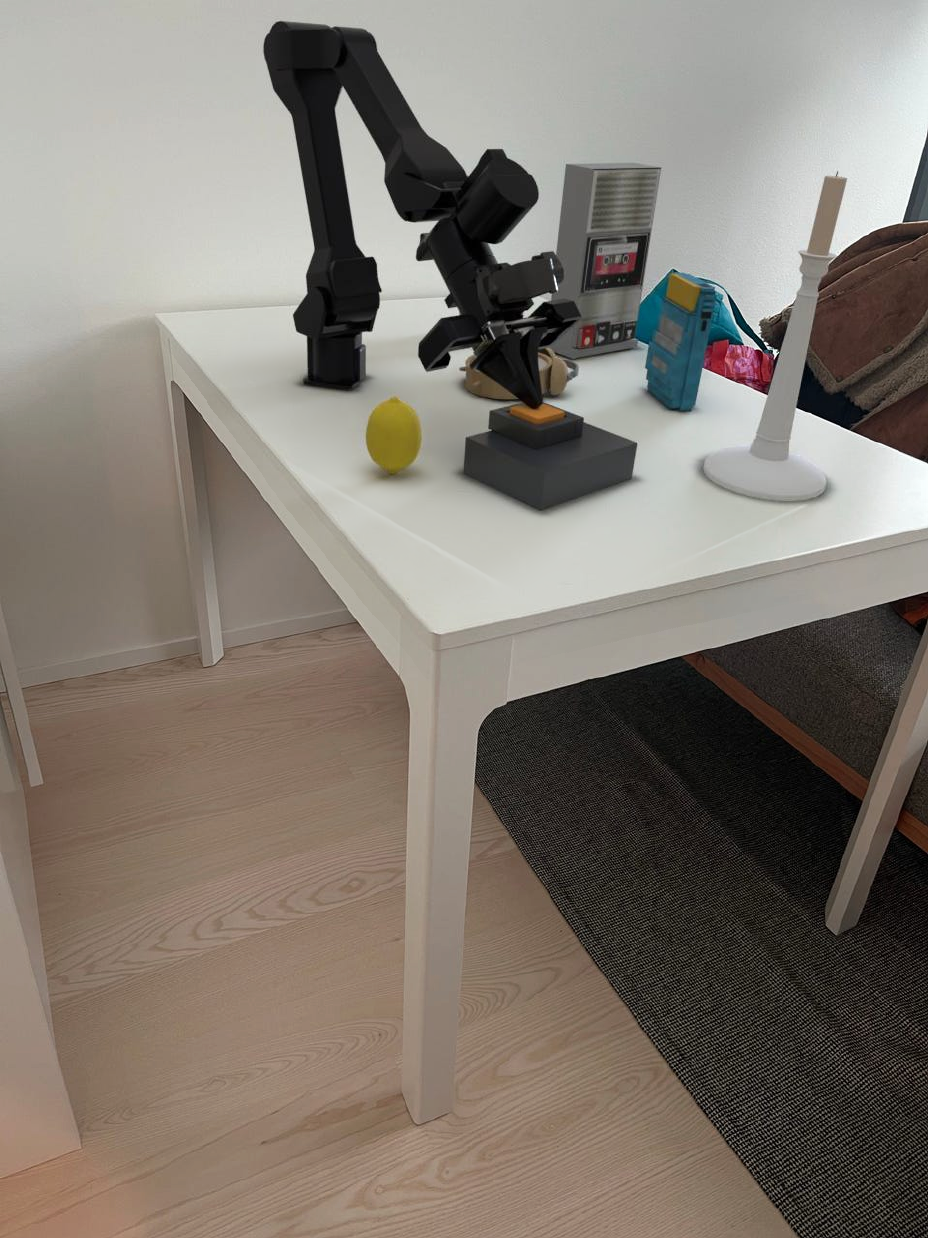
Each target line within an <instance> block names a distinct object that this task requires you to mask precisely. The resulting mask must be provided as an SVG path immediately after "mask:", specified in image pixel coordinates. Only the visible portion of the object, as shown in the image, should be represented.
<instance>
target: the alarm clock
mask: <svg viewBox="0 0 928 1238" xmlns="http://www.w3.org/2000/svg"><path fill="white" fill-rule="evenodd" d="M475 359H476V358H475V356H474V354H471V355H470V356H468V357H467V358H466V360H465V362H464V363H465V366H460V367H459V371H461V372H465V387H466V389H467V390H468V391H469V392H470V393H472V394H474V395H476V396H480V397H484V398H489V399H495V400H497V399H498V400H519V399H518V398H517V397H515V396H514V395H513V394H512V393H510V392H509V391H508V390H506V389H505V388H504V387H502V386H501V385H499V384H498V383H496V382H495V381H493V380H492V379H490V378H489V377H487V376H486V375H484V374H483V373H481V372H480V371H478V370H471V368H470V367H469V365H470V364H471V363H472V362H473V361H474V360H475ZM538 364H539V373H540V381H541V389H542V395H544V394H545V393H547V392H548V391H550V396H558V395H560V394H561V393H562V394H563V392H564V391H565V390H566V387H567V386H568V383H569V382H570V381H573V379H575V378H576V377H578V376H579V370H580V369H579V368H580V367H579V364H578V363H577V362H575V361H573V360H572V359H567V358H566V359H565V358H560V357H557V355H556V354H555V352H554V351H552V350H551V349H550V348H549V347H548V348H543V349H538ZM569 369H571V371H569Z"/></svg>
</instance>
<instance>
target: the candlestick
mask: <svg viewBox="0 0 928 1238" xmlns="http://www.w3.org/2000/svg"><path fill="white" fill-rule="evenodd" d="M847 181H848V178H847V177H844V176H839V171H838V170H837V171H836V174H835V175H825V176H824V178H823V182H822V187H821V191H820V196H819V199H818V203H817V208H816V213H815V216H814V220H813V225H812V229H811V233H810V236H809V241H808V245H807V249H800V250H798V251H797V253H798V254H799V256H800V257H801V263H800V265H799V267H798V268H799V272H800V274H801V285H800V288H798V290H797V291H796V292H795V293H796V296H795V299H794V303H793V307H792V309H791V314H790V317H789V321H788V323H787V328H786V331H785V334H784V338H783V341H782V345H781V347H780V351H779V355H778V359H777V362H776V365H775V368H774V372H773V376H772V380H771V383H770V386H769V389H768V393H767V397H766V400H765V403H764V407H763V410H762V413H761V417H760V420H759V423H758V427H757V431H755V438H754V439H753V442H752V444H739V445H732V446H727V447H724V448H721V449H719V450H716V451H714V452H713V453H710V454H709V455H708V456H706V458H705V460H704V463H703V466H702V467H703V468H702V469H703V470H702V471H703V473H704V475H705V476H706V477H707V478H708V479H709V480H711V482H713V483H715V484H716V485H718V486H720V487H722V488H724V489H726V490H729V491H731V492H734V493H737V494H739V495H743V496H747V497H751V498H755V499H761V500H767V501H768V500H769V501H775V502H800V501H806V500H807V501H808V500H811V499H814V498H817V497H819V496H821V495H822V494H823V493H824V492H825V489H826V487H827V479H826V476H825V475H824V474H823V472H822V471H821V469H819V468H818V467H817V466H816V465H815V464H814V463H813V462H812V461H810V460H808V459H806V458H805V457H803V456H801V455H799V454H796V453H794V452H793V451H790V440H791V437H792V436H791V435H792V432H793V431H792V430H793V425H794V421H795V414H796V409H797V404H798V401H799V398H798V397H799V396H800V395H799V394H800V389H801V383H802V379H803V374H804V369H805V364H806V358H807V354H808V349H809V344H810V338H811V333H812V327H813V323H814V318H815V313H816V308H817V303H818V299H819V297H820V293H819V285H820V283H821V282H822V278H823V277H824V276H826V275H828V272H829V265H830V263H831V262H832V261H833V260H834V259H836V258H837V257H838V255H837V254H836V253H832V252H830V250H831V246H832V242H833V238H834V233H835V231H836V230H835V229H836V226H837V222H838V217H839V213H840V210H841V205H842V202H843V197H844V193H845V189H846V186H847Z"/></svg>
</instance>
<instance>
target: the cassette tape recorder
mask: <svg viewBox="0 0 928 1238" xmlns="http://www.w3.org/2000/svg"><path fill="white" fill-rule="evenodd" d="M661 173H662V167H660V166H654V165H649V164H643V163H637V162H605V163H602V162H601V163H600V162H599V163H597V162H595V163H565V169H564V176H563V177H564V178H563V187H562V195H561V196H562V197H561V206H560V216H559V224H558V233H557V234H558V235H557V243H556V251H555V255H556V256H557V258H558V259H559V261H560V262H561V264H562V267H563V268H564V279H563V281H562V282H561V283H559V284H557V289H558V291H557V292H555V293H552V294H551V297H550V301H552V300H558V299H569V300H572V301H574V302H575V304H576V306H577V308H578V310H579V312H580V314H581V316H582V319H581V320H580V321H579V322H577V323H576V324H575V325H574V326H573V327H572V328H571V329H570V330H569V331H568V332H567V333H565V334H564V335H563V336H562V337H561V338H560V339H559V340H558V341H557V342H556V343H554V344H553V345H551V346H550V347H549V348H550V349H551V350H552V351H553V352H554V353H556V354H558V355H559V354H560V355H562V356H564V357H567V358H569V360H576V359H577V358H583V357H588V356H594V355H599V354H604V353H611V352H616V351H621V350H622V351H623V350H627V349H632V350H633V349H635V348H637V347H638V345H639V339H638V338H636V332H637V328H638V327H637V326H638V320H639V314H640V307H641V301H642V294H643V288H644V281H645V275H646V269H647V262H648V256H649V248H650V244H651V238H652V237H651V236H652V229H653V223H654V217H655V212H656V205H657V200H658V199H657V198H658V194H659V193H658V192H659V187H660V179H661Z"/></svg>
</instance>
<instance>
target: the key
mask: <svg viewBox="0 0 928 1238" xmlns="http://www.w3.org/2000/svg"><path fill="white" fill-rule="evenodd" d="M509 414H512V415H514V416H517V417H519V418H522V419H524V420H527V421H529V422H532V423H534V424H536V425H539V424H543V423H546V422H550V421H554V420H557V419H561V418H564V411H562V410H559V409H556V408H554V407H551V406H549V405H546V404H542V405H541V406H540V407H539V408H535V409H531V408H530V407H529V406H527V405H526V404H522V405H518V406H514V407H510V412H509Z"/></svg>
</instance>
